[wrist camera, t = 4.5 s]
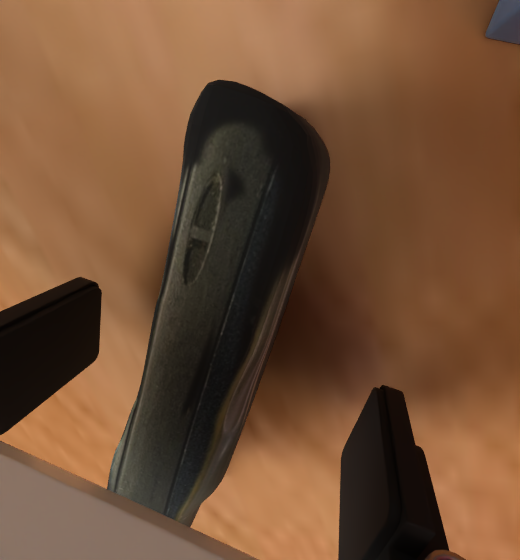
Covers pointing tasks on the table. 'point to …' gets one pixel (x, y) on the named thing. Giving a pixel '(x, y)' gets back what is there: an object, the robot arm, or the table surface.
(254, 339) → the mobile phone
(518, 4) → the blue box
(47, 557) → the robot arm
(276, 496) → the table surface
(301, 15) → the table surface
